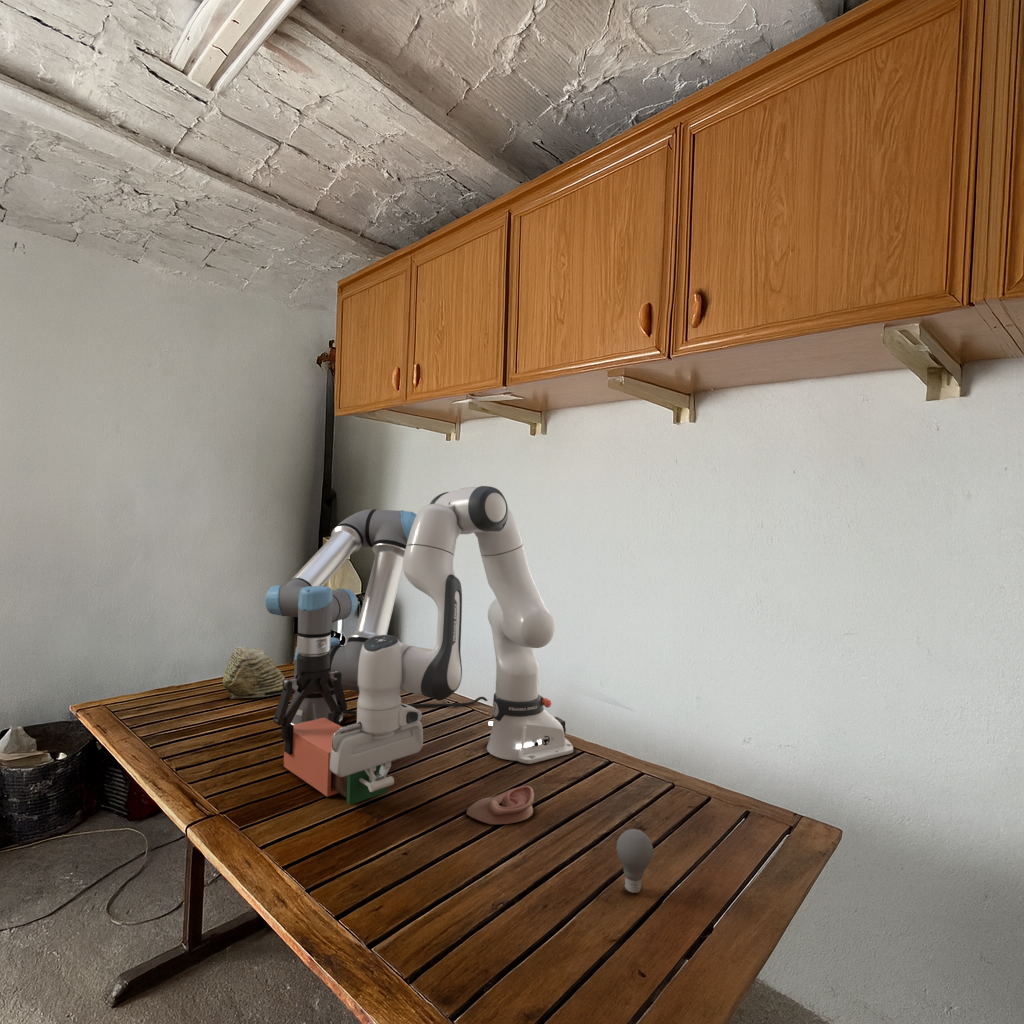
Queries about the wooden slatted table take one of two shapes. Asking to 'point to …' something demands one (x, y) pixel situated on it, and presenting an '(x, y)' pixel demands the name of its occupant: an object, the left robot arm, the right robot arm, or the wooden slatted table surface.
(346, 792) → the drawer
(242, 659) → the fossil
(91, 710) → the wooden slatted table surface
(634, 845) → the light bulb
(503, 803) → the anatomical model
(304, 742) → the cabinet
